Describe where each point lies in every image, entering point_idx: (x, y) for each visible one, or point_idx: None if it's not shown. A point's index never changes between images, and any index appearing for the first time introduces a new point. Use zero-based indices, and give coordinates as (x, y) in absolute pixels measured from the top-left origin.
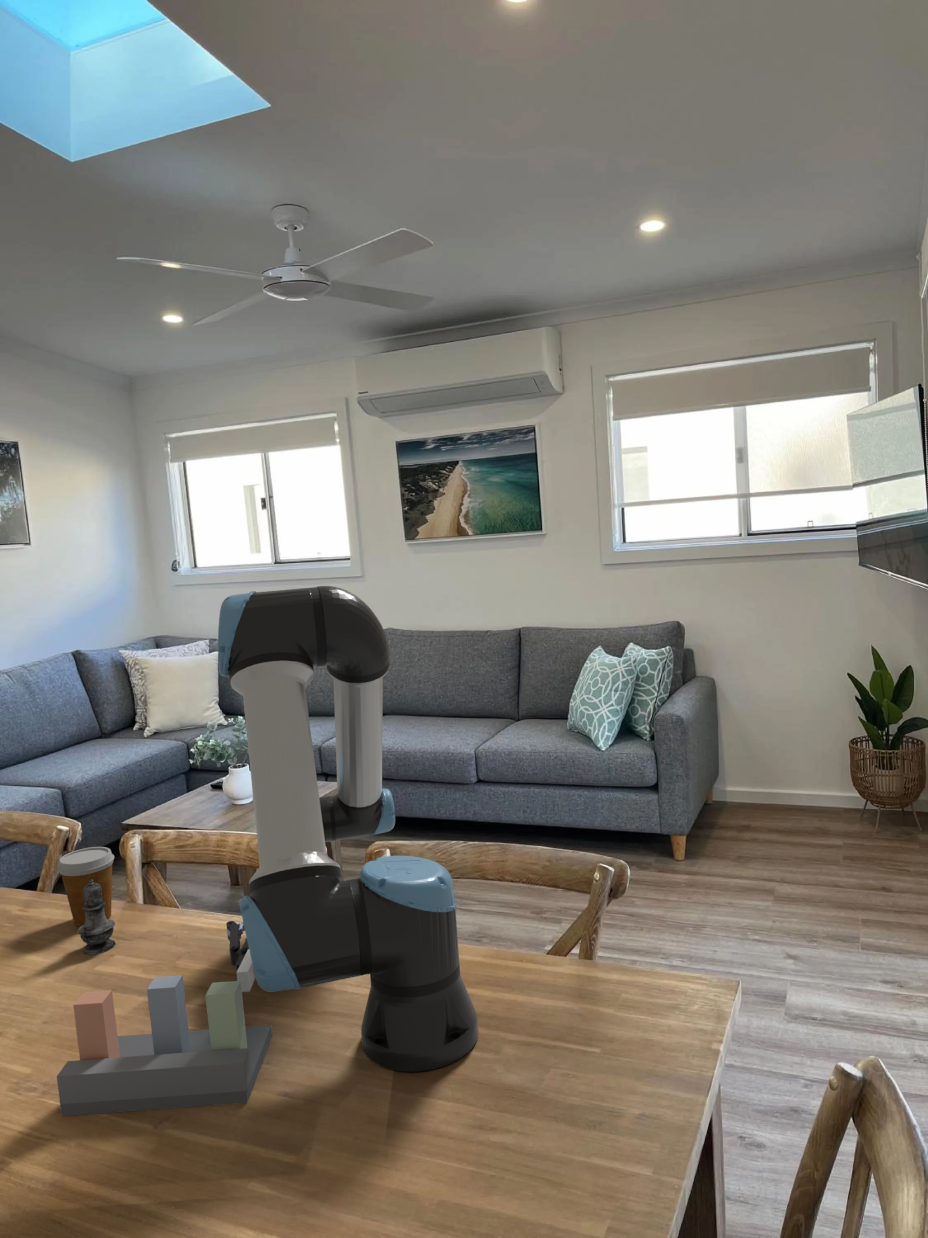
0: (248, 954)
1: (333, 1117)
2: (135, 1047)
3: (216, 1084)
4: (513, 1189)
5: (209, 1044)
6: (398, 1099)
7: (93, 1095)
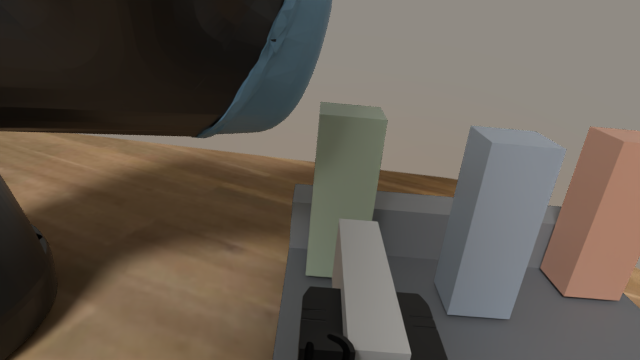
0: (384, 307)
1: (168, 210)
2: (606, 355)
3: None
4: (32, 143)
5: None
6: (64, 216)
7: None
